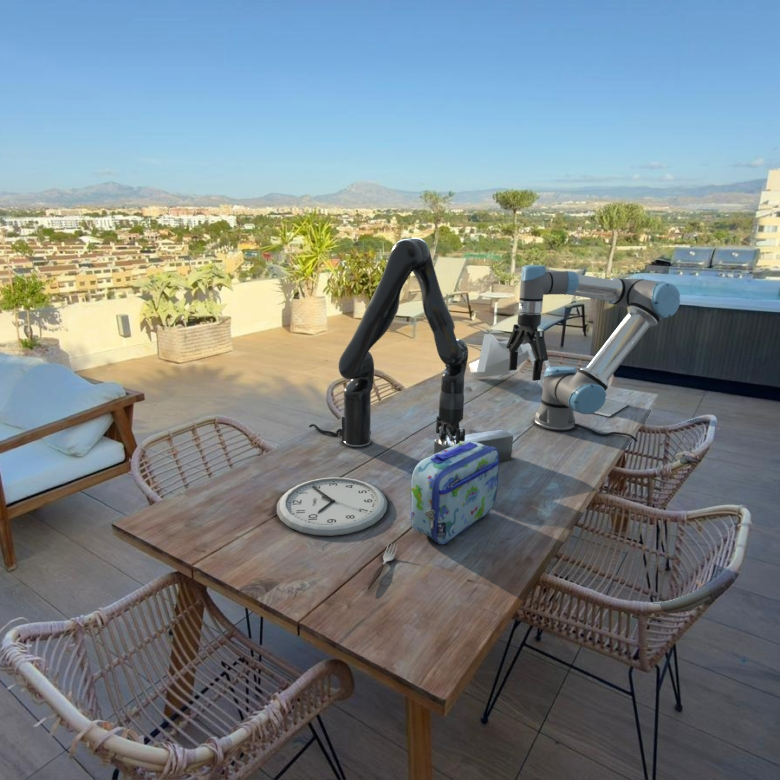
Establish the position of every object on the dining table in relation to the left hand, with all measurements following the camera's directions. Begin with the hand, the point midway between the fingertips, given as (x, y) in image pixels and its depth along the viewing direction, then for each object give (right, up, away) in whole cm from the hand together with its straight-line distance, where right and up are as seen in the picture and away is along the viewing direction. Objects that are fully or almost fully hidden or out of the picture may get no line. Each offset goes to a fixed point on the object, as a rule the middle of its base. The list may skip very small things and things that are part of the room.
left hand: (448, 452), depth 166 cm
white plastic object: (+39, +22, +90) cm, 101 cm away
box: (+8, -4, +5) cm, 10 cm away
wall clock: (-34, -12, -23) cm, 43 cm away
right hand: (+27, +25, +14) cm, 40 cm away
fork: (-21, -20, -50) cm, 57 cm away
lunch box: (-2, -15, -31) cm, 35 cm away
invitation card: (+73, +13, +60) cm, 95 cm away
